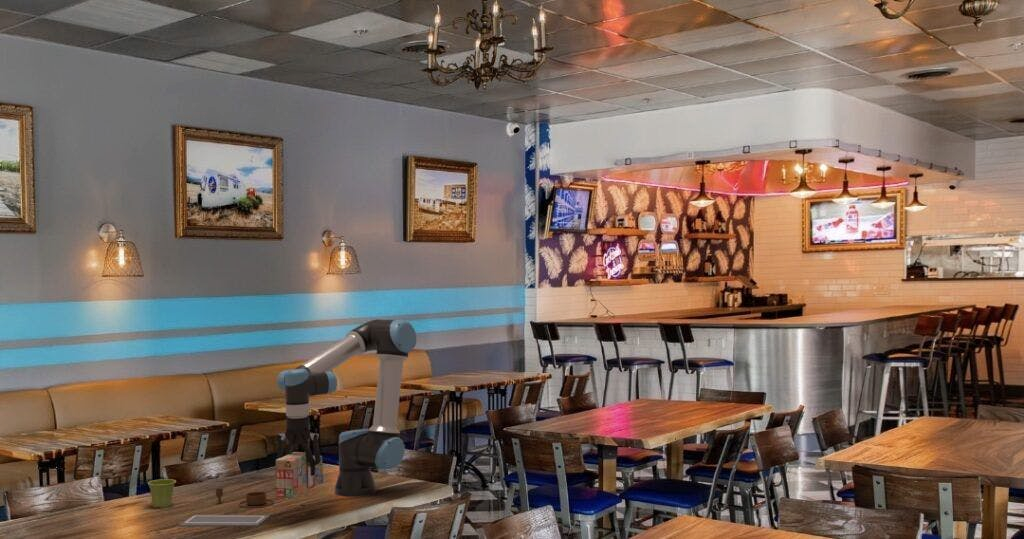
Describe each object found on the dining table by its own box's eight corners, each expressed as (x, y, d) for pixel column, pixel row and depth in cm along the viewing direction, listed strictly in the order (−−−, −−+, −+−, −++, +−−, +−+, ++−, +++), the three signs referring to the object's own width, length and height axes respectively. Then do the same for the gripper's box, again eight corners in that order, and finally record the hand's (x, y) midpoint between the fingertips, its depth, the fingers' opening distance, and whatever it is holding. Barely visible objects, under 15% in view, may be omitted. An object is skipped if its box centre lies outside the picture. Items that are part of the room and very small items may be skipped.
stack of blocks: (306, 481, 335) (306, 446, 335) (323, 482, 333) (322, 446, 333) (276, 497, 314) (275, 459, 314) (293, 498, 313) (292, 459, 313)
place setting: (243, 515, 335) (243, 498, 335) (212, 506, 348) (212, 489, 348) (286, 505, 348) (286, 489, 348) (255, 497, 361) (254, 481, 361)
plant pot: (168, 501, 353) (168, 477, 353) (180, 506, 346) (180, 481, 346) (143, 506, 346) (143, 481, 346) (155, 510, 339) (154, 485, 339)
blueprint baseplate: (269, 518, 327) (269, 514, 327) (257, 528, 314) (257, 524, 314) (194, 517, 329) (194, 514, 329) (178, 527, 316) (178, 524, 316)
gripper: (329, 414, 326) (331, 482, 326) (271, 414, 327) (273, 483, 327) (324, 417, 318) (325, 487, 319) (264, 418, 320) (266, 488, 320)
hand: (299, 485), depth 323 cm, fingers closed on stack of blocks, 7 cm apart
